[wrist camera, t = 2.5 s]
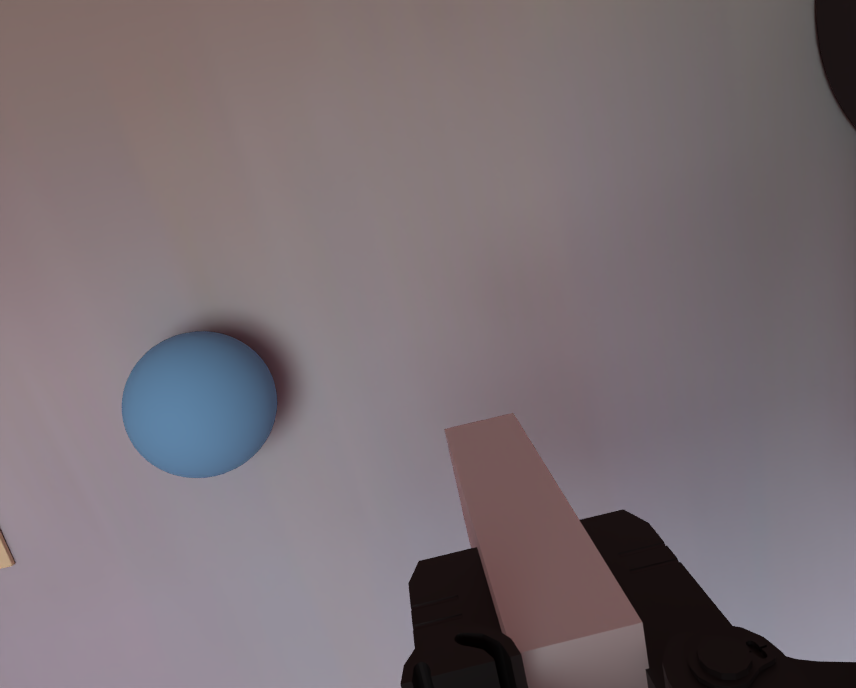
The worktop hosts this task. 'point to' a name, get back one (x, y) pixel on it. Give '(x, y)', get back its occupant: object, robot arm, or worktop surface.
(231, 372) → the ball
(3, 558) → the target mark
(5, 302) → the worktop surface
